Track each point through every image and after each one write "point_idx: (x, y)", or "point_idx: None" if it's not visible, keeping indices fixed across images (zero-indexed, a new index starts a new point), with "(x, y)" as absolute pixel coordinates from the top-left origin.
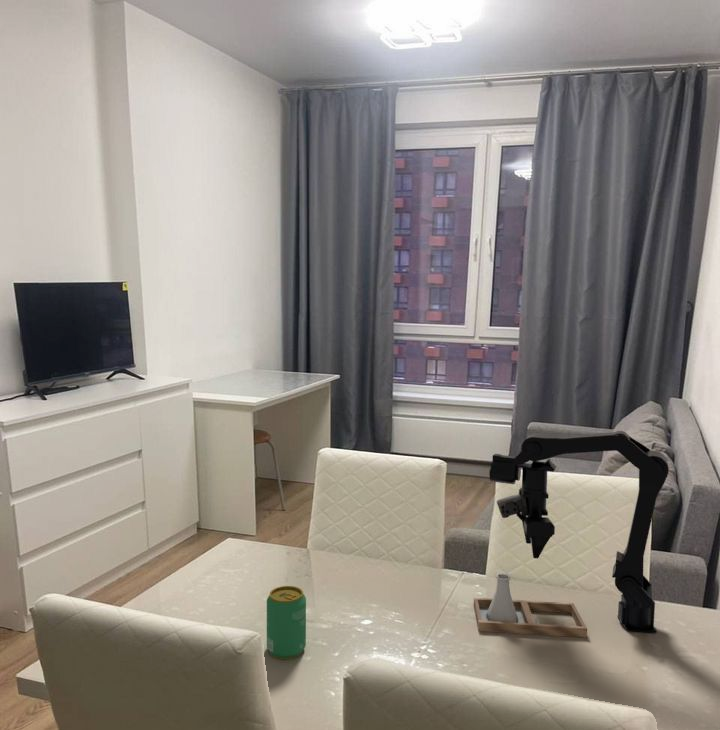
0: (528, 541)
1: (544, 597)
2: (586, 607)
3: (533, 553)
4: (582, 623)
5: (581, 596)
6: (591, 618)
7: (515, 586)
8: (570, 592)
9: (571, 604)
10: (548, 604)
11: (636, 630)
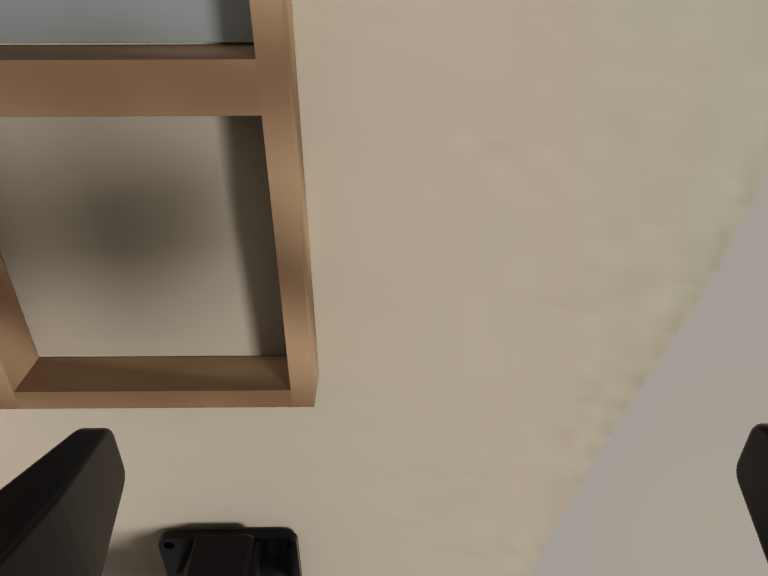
0: (762, 473)
1: (495, 254)
2: (381, 438)
3: (1, 494)
4: (54, 399)
5: (514, 443)
6: (256, 433)
7: (690, 73)
8: (566, 405)
9: (294, 394)
10: (279, 264)
11: (164, 563)
